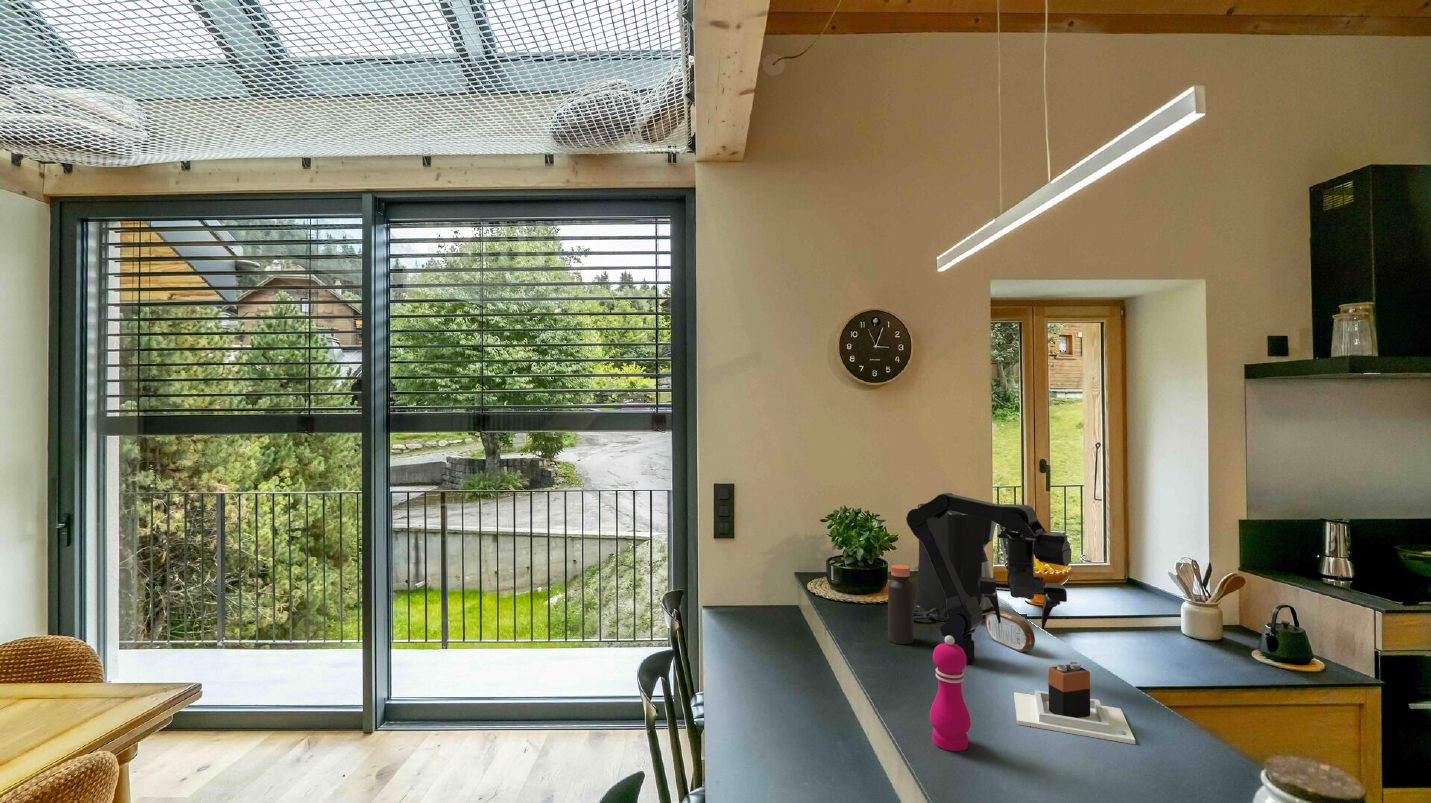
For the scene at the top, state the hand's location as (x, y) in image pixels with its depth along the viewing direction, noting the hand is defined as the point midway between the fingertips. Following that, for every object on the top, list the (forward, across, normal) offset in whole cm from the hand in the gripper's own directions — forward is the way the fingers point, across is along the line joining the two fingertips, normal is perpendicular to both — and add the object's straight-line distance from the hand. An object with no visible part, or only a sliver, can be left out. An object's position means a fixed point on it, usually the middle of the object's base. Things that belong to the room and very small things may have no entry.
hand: (1020, 625), depth 151 cm
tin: (+12, -2, +21) cm, 24 cm away
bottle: (+12, -29, +14) cm, 34 cm away
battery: (+11, +8, -19) cm, 23 cm away
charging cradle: (+12, +8, -19) cm, 24 cm away
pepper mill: (+12, -14, -39) cm, 43 cm away
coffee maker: (+12, -20, +47) cm, 53 cm away
